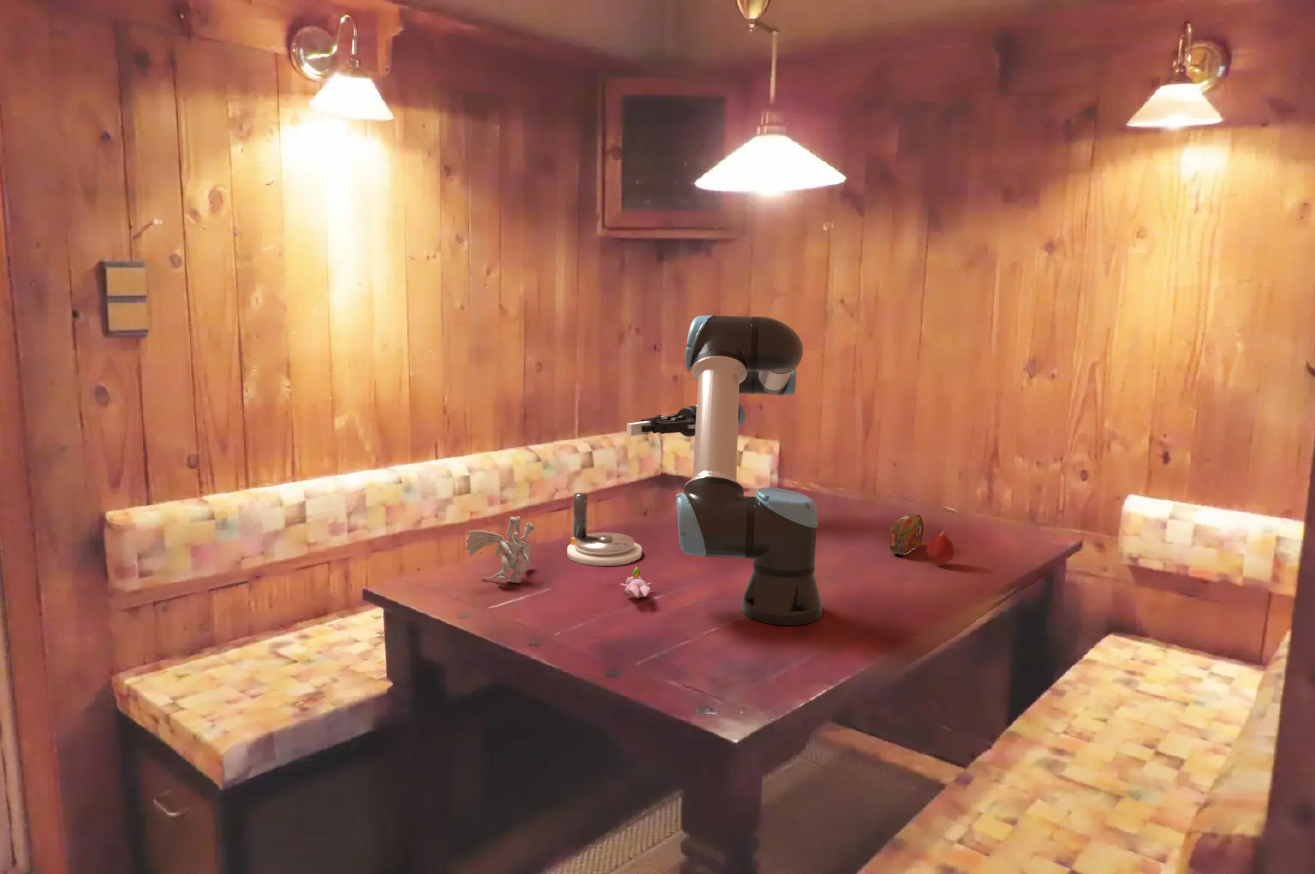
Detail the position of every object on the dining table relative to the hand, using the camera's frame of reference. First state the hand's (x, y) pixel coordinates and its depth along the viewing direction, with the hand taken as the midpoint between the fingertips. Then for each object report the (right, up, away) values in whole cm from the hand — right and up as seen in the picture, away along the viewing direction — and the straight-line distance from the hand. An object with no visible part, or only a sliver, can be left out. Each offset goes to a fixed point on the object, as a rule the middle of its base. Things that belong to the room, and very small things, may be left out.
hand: (629, 429), depth 211 cm
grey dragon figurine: (-24, -32, -21) cm, 45 cm away
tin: (+65, -29, +6) cm, 72 cm away
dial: (-6, -27, -3) cm, 28 cm away
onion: (+70, -31, -5) cm, 77 cm away
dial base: (-6, -29, -2) cm, 29 cm away
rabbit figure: (+2, -34, -29) cm, 45 cm away
